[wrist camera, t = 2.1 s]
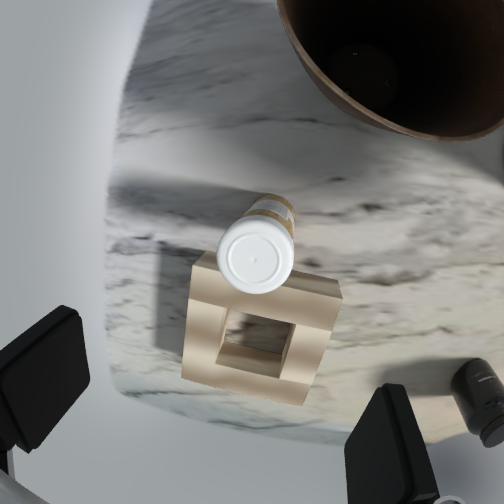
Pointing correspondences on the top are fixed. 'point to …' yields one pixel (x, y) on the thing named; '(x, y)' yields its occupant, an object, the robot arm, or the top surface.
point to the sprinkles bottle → (259, 247)
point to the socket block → (250, 359)
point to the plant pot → (406, 62)
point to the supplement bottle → (480, 401)
